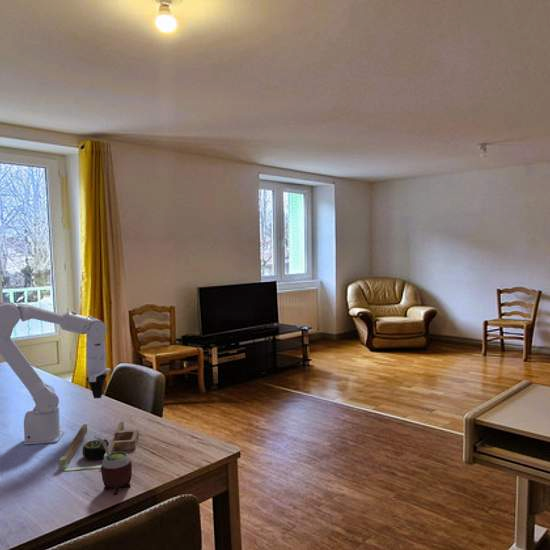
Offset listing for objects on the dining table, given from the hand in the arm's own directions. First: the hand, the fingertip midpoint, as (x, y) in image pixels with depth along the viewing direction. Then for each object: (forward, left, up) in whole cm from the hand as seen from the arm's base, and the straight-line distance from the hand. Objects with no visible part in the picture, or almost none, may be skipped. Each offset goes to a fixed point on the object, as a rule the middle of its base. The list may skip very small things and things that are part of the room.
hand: (97, 397), depth 151 cm
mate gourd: (+12, -41, -10) cm, 44 cm away
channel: (+5, -16, -10) cm, 19 cm away
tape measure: (+4, -21, -10) cm, 24 cm away
